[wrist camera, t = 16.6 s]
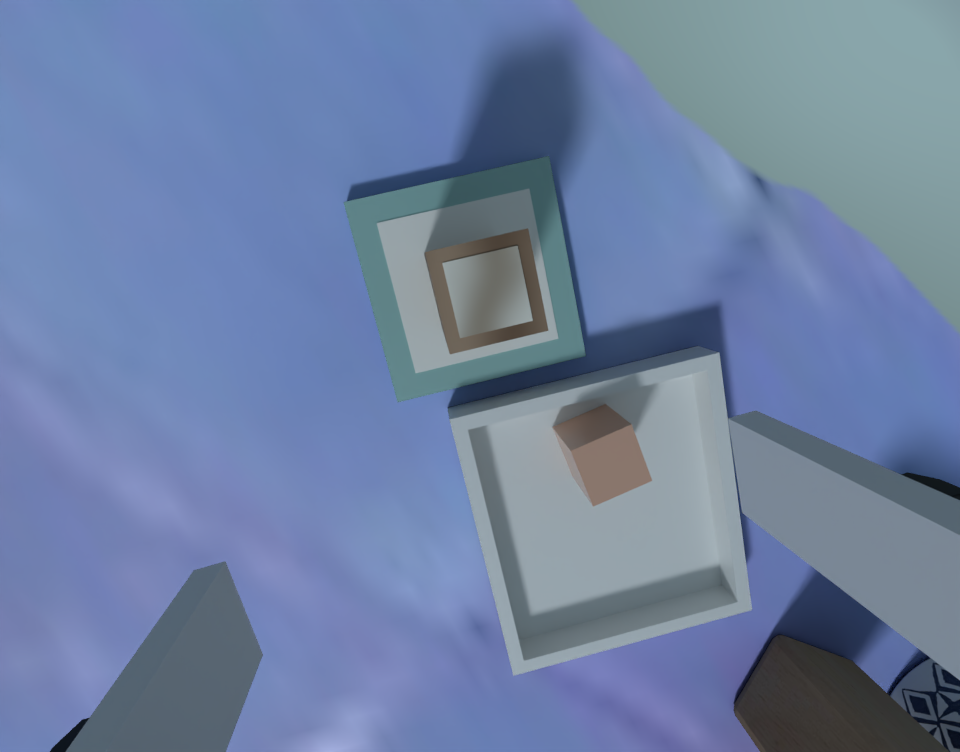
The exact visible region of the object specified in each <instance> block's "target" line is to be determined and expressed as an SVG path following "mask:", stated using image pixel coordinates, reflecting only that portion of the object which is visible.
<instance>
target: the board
mask: <svg viewBox="0 0 960 752" xmlns="http://www.w3.org/2000/svg"><path fill="white" fill-rule="evenodd" d="M344 205H345V209H346V213H347V217H348V220H349V224H350V228H351V231H352V235H353V239H354V242H355V246H356V250H357V254H358V257H359V261H360V265H361V268H362V272H363V276H364V279H365V283H366V287H367V290H368V294H369V298H370V302H371V305H372V309H373V313H374V316H375V320H376V324H377V327H378V331H379V335H380V339H381V342H382V346H383V350H384V353H385V357H386V361H387V364H388V368H389V372H390V375H391V379H392V383H393V387H394V390H395V394H396V398H397V401H398V402H401V401H405V400H409V399H413V398H417V397H421V396H425V395H429V394H433V393H438V392H442V391H446V390H450V389H454V388H458V387H462V386H466V385H470V384H474V383H478V382H482V381H486V380H491V379H495V378H499V377H503V376H507V375H511V374H515V373H519V372H523V371H527V370H531V369H535V368H539V367H544V366H548V365H552V364H556V363H560V362H564V361H568V360H572V359H576V358H580V357H584V356H586V354H585V348H584V343H583V337H582V332H581V327H580V321H579V316H578V310H577V305H576V299H575V294H574V289H573V283H572V278H571V272H570V267H569V261H568V256H567V251H566V245H565V240H564V234H563V229H562V223H561V218H560V213H559V207H558V202H557V196H556V191H555V185H554V180H553V175H552V169H551V164H550V158H549V156H547V157H542V158H538V159H534V160H529V161H525V162H520V163H516V164H511V165H507V166H502V167H498V168H494V169H489V170H485V171H480V172H476V173H471V174H467V175H462V176H458V177H453V178H449V179H445V180H440V181H436V182H431V183H427V184H422V185H418V186H413V187H409V188H404V189H400V190H396V191H391V192H387V193H382V194H378V195H373V196H369V197H364V198H360V199H355V200H351V201H347V202H344ZM527 228H528V230H529V235H530V240H531V245H532V250H533V255H534V260H535V265H536V270H537V275H538V280H539V285H540V290H541V295H542V300H543V305H544V310H545V315H546V320H547V325H548V331H545V332H541V333H537V334H533V335H528V336H524V337H520V338H516V339H512V340H508V341H504V342H500V343H495V344H491V345H487V346H483V347H479V348H475V349H471V350H466V351H462V352H458V353H454V354H450V353H449V350H448V347H447V343H446V340H445V337H444V333H443V330H442V326H441V322H440V318H439V314H438V309H437V305H436V301H435V297H434V293H433V289H432V285H431V281H430V277H429V272H428V268H427V264H426V260H425V256H424V253H425V252H428V251H432V250H436V249H440V248H445V247H449V246H453V245H458V244H462V243H466V242H471V241H475V240H479V239H484V238H488V237H492V236H497V235H501V234H505V233H510V232H514V231H518V230H523V229H527Z"/></svg>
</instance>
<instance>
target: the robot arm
mask: <svg viewBox="0 0 960 752" xmlns="http://www.w3.org/2000/svg"><path fill="white" fill-rule="evenodd" d="M728 421H729V428H730V435H731V441H732V448H733V455H734V461H735V468H736V475H737V481H738V488H739V495H740V502H741V508H742V513H743V514H744V515H746V516H747V517H748V518H750V519H751V520H752V521H754V522H755V523H756V524H757V525H759V526H760V527H761V528H763V529H764V530H765V531H766V532H768V533H769V534H770V535H772V536H773V537H774V538H776V539H777V540H778V541H779V542H781V543H782V544H783V545H785V546H786V547H787V548H789V549H790V550H791V551H792V552H794V553H795V554H796V555H798V556H799V557H800V558H802V559H803V560H804V561H805V562H807V563H808V564H809V565H811V566H812V567H813V568H815V569H816V570H817V571H818V572H820V573H821V574H822V575H824V576H825V577H826V578H827V579H829V580H830V581H831V582H833V583H834V584H835V585H837V586H838V587H839V588H840V589H842V590H843V591H844V592H846V593H847V594H848V595H850V596H851V597H852V598H853V599H855V600H856V601H857V602H859V603H860V604H861V605H863V606H864V607H865V608H866V609H868V610H869V611H870V612H872V613H873V614H874V615H876V616H877V617H878V618H879V619H881V620H882V621H883V622H885V623H886V624H887V625H889V626H890V627H891V628H892V629H894V630H895V631H896V632H898V633H899V634H900V635H901V636H903V637H904V638H905V639H907V640H908V641H909V642H911V643H912V644H913V645H914V646H916V647H917V648H918V649H920V650H921V651H922V652H924V653H925V654H926V655H927V656H929V657H930V658H931V659H933V660H934V661H935V662H937V663H938V664H939V665H940V666H942V667H943V668H944V669H946V670H947V671H948V672H950V673H951V674H952V675H953V676H955V677H956V678H957V679H959V680H960V488H959V487H957V486H954V485H952V484H950V483H947V482H945V481H942V480H940V479H935V478H930V477H926V476H921V475H917V474H912V473H905V474H899V473H896V472H894V471H892V470H889V469H887V468H885V467H883V466H880V465H878V464H876V463H874V462H871V461H869V460H867V459H865V458H862V457H860V456H858V455H855V454H853V453H851V452H849V451H846V450H844V449H842V448H840V447H837V446H835V445H833V444H830V443H828V442H826V441H824V440H821V439H819V438H817V437H815V436H812V435H810V434H808V433H806V432H803V431H801V430H799V429H796V428H794V427H792V426H790V425H787V424H785V423H783V422H781V421H778V420H776V419H774V418H771V417H769V416H767V415H765V414H762V413H760V412H758V411H752V412H749V413H745V414H742V415H738V416H735V417H731V418H728ZM262 656H263V654H262V651H261V649H260V646H259V644H258V641H257V639H256V637H255V634H254V632H253V629H252V627H251V624H250V622H249V619H248V617H247V614H246V612H245V609H244V607H243V604H242V602H241V599H240V597H239V594H238V592H237V589H236V587H235V584H234V582H233V579H232V577H231V574H230V572H229V569H228V567H227V564H226V562H221V563H218V564H214V565H211V566H207V567H204V568H200V569H197V570H194V571H193V573H192V574H191V575H190V577H189V578H188V580H187V581H186V583H185V584H184V585H183V587H182V588H181V590H180V591H179V592H178V594H177V595H176V597H175V598H174V599H173V601H172V602H171V604H170V605H169V606H168V608H167V609H166V611H165V612H164V614H163V615H162V616H161V618H160V619H159V621H158V622H157V623H156V625H155V626H154V628H153V629H152V630H151V632H150V633H149V635H148V636H147V638H146V639H145V640H144V642H143V643H142V645H141V646H140V647H139V649H138V650H137V652H136V653H135V654H134V656H133V657H132V659H131V660H130V662H129V663H128V664H127V666H126V667H125V669H124V670H123V671H122V673H121V674H120V676H119V677H118V678H117V680H116V681H115V683H114V684H113V686H112V687H111V688H110V690H109V691H108V693H107V694H106V695H105V697H104V698H103V700H102V701H101V702H100V704H99V705H98V707H97V708H96V709H95V711H94V712H93V714H92V715H91V717H90V718H87V719H84V720H81V721H80V722H79V723H78V724H77V725H76V726H75V727H74V728H73V729H72V730H71V731H70V732H69V733H68V734H67V735H66V736H65V737H63V738H62V739H61V740H60V741H59V742H58V743H57V744H56V745H55V746H54V747H53V748H52V749H51V751H50V752H226V750H227V747H228V744H229V742H230V739H231V736H232V734H233V731H234V729H235V726H236V723H237V721H238V718H239V716H240V713H241V710H242V708H243V705H244V703H245V700H246V697H247V695H248V692H249V689H250V687H251V684H252V682H253V679H254V676H255V674H256V671H257V669H258V666H259V663H260V661H261V658H262Z"/></svg>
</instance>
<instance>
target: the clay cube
mask: <svg viewBox="0 0 960 752" xmlns="http://www.w3.org/2000/svg"><path fill="white" fill-rule="evenodd" d="M552 428H553V430H554V433H555V435H556V438H557V440H558V443H559V445H560V447H561V450H562V452H563V455H564V457H565V460H566V462H567V465H568V467H569V470H570V472H571V474H572V477H573V478H574V480H575V481H576V483H577V484H578V485H579V487H580V488H581V490H582V491H583V493H584V494H585V496H586V497H587V498H588V500H589V501H590V503H591V504H592V506H593V507H594V506H596V505H598V504H601V503H603V502H605V501H607V500H610V499H612V498H614V497H616V496H619V495H621V494H623V493H626V492H628V491H630V490H632V489H635V488H637V487H639V486H641V485H644V484H646V483H648V482H651V481H652V478H651V476H650V473H649V470H648V468H647V465H646V462H645V459H644V457H643V454H642V451H641V449H640V446H639V443H638V440H637V438H636V435H635V432H634V430H633V427H632V424H631V423H629V422H628V421H627V420H625V419H624V418H623V417H622V416H620V415H619V414H618V413H617V412H615V411H614V410H613V409H612V408H610V407H609V406H608V405H606V404H604V405H602V406H599V407H597V408H595V409H592V410H590V411H588V412H586V413H583V414H581V415H579V416H576V417H574V418H572V419H570V420H567V421H565V422H563V423H560V424H558V425H556V426H554V427H552Z"/></svg>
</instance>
